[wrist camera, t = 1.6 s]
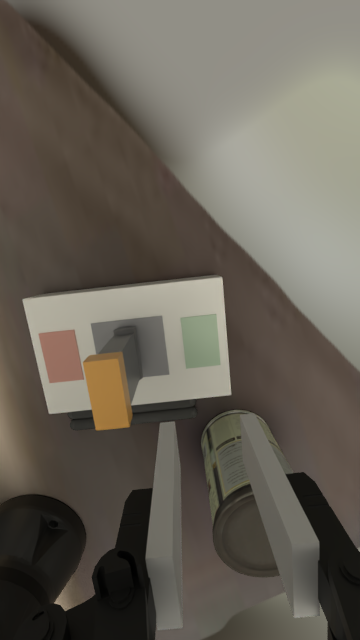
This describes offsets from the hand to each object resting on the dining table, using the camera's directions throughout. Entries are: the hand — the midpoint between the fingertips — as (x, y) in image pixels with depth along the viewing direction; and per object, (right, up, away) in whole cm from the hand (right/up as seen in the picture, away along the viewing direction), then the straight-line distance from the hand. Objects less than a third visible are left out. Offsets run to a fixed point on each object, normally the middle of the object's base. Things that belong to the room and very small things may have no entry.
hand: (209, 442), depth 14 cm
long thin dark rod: (-8, -6, +24) cm, 26 cm away
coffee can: (+7, -11, +26) cm, 29 cm away
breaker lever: (-7, +3, +17) cm, 18 cm away
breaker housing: (-7, +4, +22) cm, 24 cm away
